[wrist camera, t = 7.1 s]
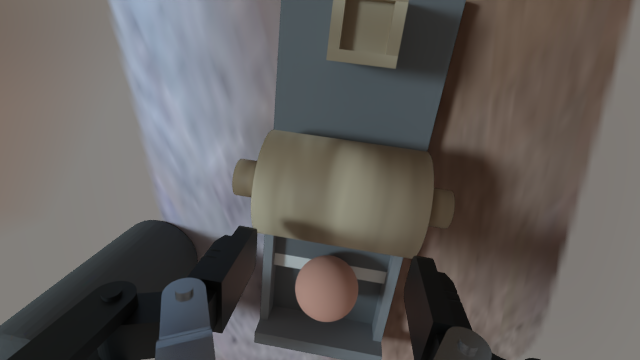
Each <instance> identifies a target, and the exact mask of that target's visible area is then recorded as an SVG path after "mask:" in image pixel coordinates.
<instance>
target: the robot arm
mask: <svg viewBox="0 0 640 360" xmlns="http://www.w3.org/2000/svg"><path fill="white" fill-rule="evenodd" d="M256 252H257V229H256V228H250V227H244V226H239V227H238V228H237V229H236V231H235V232H234V234H233V235H232V236H228V235H224V236H223V237H221V238H219V239H218V240H216V241H215V242H214V243H213V244H212V246H211V247H210V248H209V250H208V251H207V252H206V253H205V255H204V256H203V257H202V258H201V260H200V261H199V262H198V264H197V265H196V266H195V267H194V269H193V270H192V271H191V272H190V274H189V275H188V276H187V278H182V279H178V280H176V281H173V282H172V283H170V284H169V285H167V286H166V287H165V289H164V290H163V291H161V292H150V293H137V289H136V286H135V285H134V284H133V283H131V282H128V281H114V282H110V283H107V284H104V285H102V286H100V287H98V288H96V289H95V290H94V291H92V292H91V293H90V294H89V295H87V296H86V297H85V298H84V299H82V300H81V301H80V302H79V303H77V304H76V305H75V306H74V307H72V308H71V309H70V310H69V311H67V312H66V313H65V314H63V315H62V316H61V317H60V318H58V319H57V320H56V321H55V322H53V323H52V324H51V325H50V326H48V327H47V328H46V329H45V330H43V331H42V332H41V333H40V334H38V335H37V336H36V337H35V338H33V339H32V340H31V341H30V342H28V343H27V344H26V345H25V346H23V347H22V348H21V349H20V350H18V351H17V352H16V353H15V354H13V355H12V356H11V357H10V358H8V359H7V360H141V359H150V358H155V360H215V351H214V343H213V334H212V332H217V333H223V331H224V329H225V327H226V325H227V323H228V321H229V319H230V317H231V315H232V313H233V311H234V309H235V307H236V305H237V303H238V301H239V299H240V297H241V295H242V293H243V291H244V289H245V287H246V285H247V283H248V281H249V279H250V277H251V275H252V273H253V270H254V267H255V263H256ZM404 302H405V308H406V314H407V320H408V326H409V332H410V337H411V343H412V349H413V355H414V360H505V359H503V358H500V357H498V356H496V355H495V354H493V353H492V352H491V349H490V347H489V345H488V344H487V342H486V341H485V340H484V339H483V338H482V337H481V336H480V335H478V334H477V333H475V332H474V331H472V328H471V326H470V323H469V321H468V318H467V316H466V313H465V311H464V308H463V306H462V303H461V302H460V298H459V295H458V294H457V290H456V288H455V285H454V283H453V282H452V280H451V279H450V278H449V277H448V276H447V275H446V274H445V273H442V272H438V271H437V268H436V266H435V263H434V260H433V259H432V258H426V257H420V256H414V257H413V258H412V262H411V265H410V269H409V272H408V276H407V280H406V283H405V288H404ZM525 360H540V359H535V358H528V359H525Z"/></svg>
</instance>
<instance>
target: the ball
mask: <svg viewBox="0 0 640 360" xmlns="http://www.w3.org/2000/svg"><path fill="white" fill-rule="evenodd" d="M295 293H296V298H297V301H298V303H299V305H300V307H301V308H302V310H303V311H304V312H305V313H306V314H307V315H308V316H310V317H311V318H313V319H315V320H317V321H321V322H333V321H337V320H339V319H341V318H343V317H344V316H346V315H347V314H348V313H349V312H350V311H351V310H352V308H353V307H354V305H355V303H356V300H357V296H358V281H357V278H356V275H355V273H354V271H353V269H352V268H351V267H350V266H349V265H348V264H347V263H346V262H345V261H343V260H342V259H340V258H338V257H335V256H330V255H323V256H318V257H315V258H313V259H311V260H310V261H308V262H307V263H306V264H305V265H304V266H303V267H302V268H301V270H300V272H299V274H298V276H297V279H296V284H295Z"/></svg>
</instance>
